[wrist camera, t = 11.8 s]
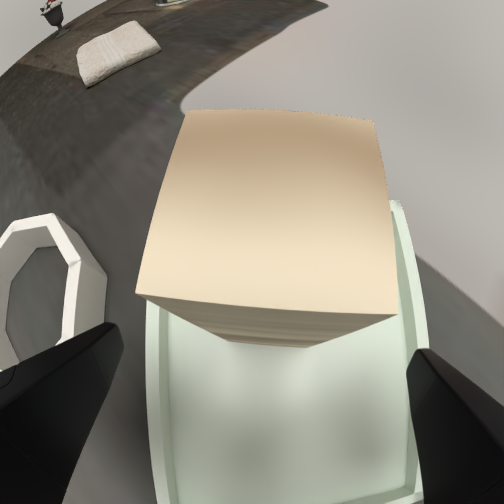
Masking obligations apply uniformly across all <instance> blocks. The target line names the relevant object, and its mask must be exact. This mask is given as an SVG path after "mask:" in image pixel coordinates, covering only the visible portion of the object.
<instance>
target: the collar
mask: <svg viewBox="0 0 504 504" xmlns="http://www.w3.org/2000/svg"><path fill="white" fill-rule="evenodd" d="M49 246H58V248H59V250H60V251H61V253H62V255H63V257H64V258H65V260H66V262H67V264H68V265H69V270H68V277H67V284H66V292H65V301H64V311H63V324H62V338H61V339H60V340H59V342H58V343H57V344H56V345H58V344H60V343H62V342H64V341H66V340H68V339H70V338H72V337H74V336H77V335H79V334H81V333H83V332H85V331H87V330H89V329H91V328H93V327H95V326H97V325H100V324H102V323H104V311H105V298H106V287H107V278H108V277H106V276H107V274H106V273H105V272H104V270H103V269H102V268H101V266H100V265H99V264H98V262H97V261H96V259H95V258H94V256H93V255H92V254H91V252H90V251H89V249H88V248H87V246H86V245H85V243H84V242H83V240H82V239H81V237H80V236H79V234H78V233H77V232H76V231H74V230H73V229H72V228H71V227H69V226H68V225H67V224H66V223H65V222H63V221H62V220H61V219H60V218H59V217H57V216H56V215H55V214H53V213H51V214H45V215H40V216H35V217H31V218H26V219H21V220H17V221H14V222H12V223H11V225H10V226H9V227H8V229H7V230H6V231H5V233H4V234H3V235H2V237H1V238H0V372H1V371H3V370H5V369H7V368H10V367H12V366H14V365H16V364H17V365H18V363H20V362H19V360H18V358H17V356H16V353H15V351H14V349H13V347H12V345H11V342H10V340H9V338H8V335H7V333H6V330H5V329H6V317H7V307H8V299H9V292H10V285H11V281H12V280H13V279H14V277H15V276H16V274H17V273H18V272H19V270H20V269H21V268H22V266H23V265H24V264H25V262H26V261H27V260H28V258H29V257H30V256H31V255H32V253H33V252H34V251H35V249H36V248H40V247H49ZM56 345H55V346H56Z"/></svg>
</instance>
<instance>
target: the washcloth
mask: <svg viewBox="0 0 504 504" xmlns="http://www.w3.org/2000/svg"><path fill="white" fill-rule="evenodd" d="M160 50H161V48H160V47H159V45H158V43H157V41H155V39H153V38H152V36H150V35H149V34H148V32H146V30H144V29H143V28H142V27H141V26H140V25H139V24H138V23H137V22H136V21H131V22H128V23H126V24H124V25H122V26H120V27H119V28H117V29H115V30H113V31H111V32H109V33H106V34H104V35H101V36H99V37H96V38H94V39H93V40H91V41H90V42H88V43H86V44H85V45H83V46H81V47H80V48H79V50H78V54H77V55H76V56H77V60H78V66H79V72H80V75H81V77H82V79H83V82H84V84H85V86H86V88H87V87H90V86H92V85H95V84H97V83H98V82H100V81H102V80H104V79H105V78H107V77H109V76H110V75H111V74H113V73H115V72H117V71H119V70H121V69H123V68H125V67H127V66H131V65H132V64H135V63H136V62H139V61H140V60H142V59H145V58H147V57H149V56H152V55H154V54H156V53H158V52H159V51H160Z"/></svg>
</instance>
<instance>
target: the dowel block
mask: <svg viewBox="0 0 504 504" xmlns="http://www.w3.org/2000/svg"><path fill="white" fill-rule="evenodd" d="M135 293H136V294H138V295H140V296H141V297H143V298H145V299H147V300H148V301H150V302H152V303H154V304H156V305H157V306H159V307H161V308H163V309H165V310H167V311H169V312H170V313H172V314H174V315H176V316H178V317H180V318H182V319H184V320H186V321H188V322H190V323H192V324H194V325H196V326H198V327H200V328H202V329H204V330H206V331H208V332H210V333H212V334H214V335H216V336H218V337H220V338H222V339H224V340H226V341H229V342H238V343H248V344H259V345H271V346H284V347H300V348H308V347H311V346H315V345H318V344H321V343H324V342H327V341H330V340H333V339H335V338H338V337H341V336H344V335H347V334H350V333H352V332H355V331H358V330H360V329H363V328H366V327H368V326H371V325H373V324H376V323H378V322H381V321H383V320H386V319H388V318H391V317H393V316H396V315H398V283H397V266H396V253H395V242H394V232H393V224H392V216H391V208H390V202H389V195H388V189H387V184H386V177H385V172H384V167H383V162H382V157H381V152H380V148H379V143H378V139H377V135H376V131H375V126H374V122H373V121H370V120H365V119H358V118H352V117H345V116H338V115H329V114H321V113H311V112H299V111H285V110H264V109H209V110H208V109H207V110H188V111H187V114H186V116H185V119H184V121H183V124H182V127H181V130H180V132H179V135H178V138H177V141H176V144H175V146H174V149H173V152H172V155H171V158H170V161H169V164H168V167H167V171H166V174H165V177H164V180H163V183H162V187H161V190H160V193H159V197H158V200H157V204H156V207H155V211H154V215H153V218H152V222H151V226H150V230H149V234H148V238H147V242H146V246H145V250H144V254H143V259H142V263H141V268H140V272H139V277H138V282H137V287H136V292H135Z"/></svg>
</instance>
